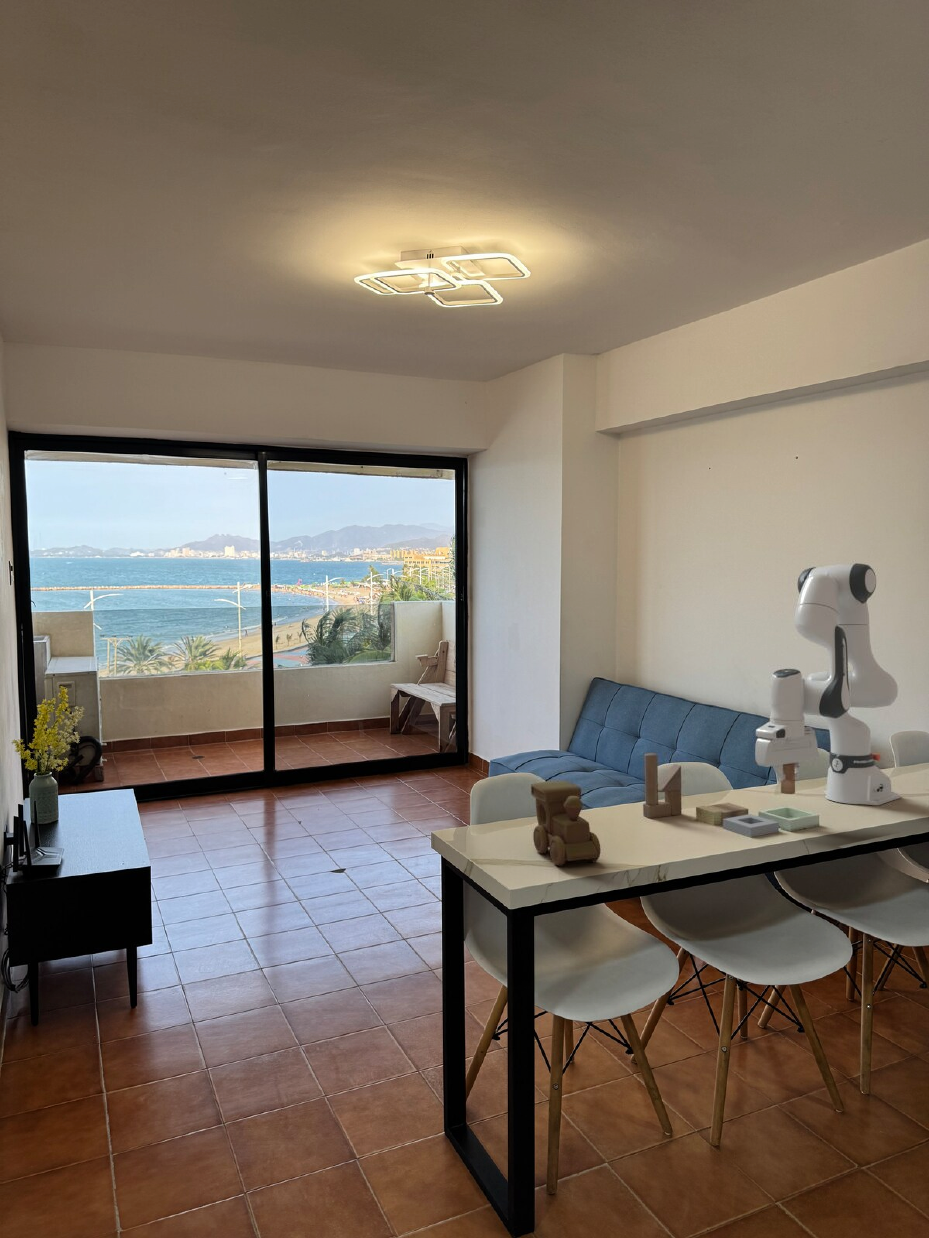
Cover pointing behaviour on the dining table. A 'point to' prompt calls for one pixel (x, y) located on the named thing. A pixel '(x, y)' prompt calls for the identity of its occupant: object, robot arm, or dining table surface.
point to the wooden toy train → (562, 823)
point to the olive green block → (709, 815)
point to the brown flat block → (730, 810)
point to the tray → (791, 818)
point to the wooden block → (661, 789)
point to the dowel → (788, 779)
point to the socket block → (750, 825)
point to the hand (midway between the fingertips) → (787, 779)
